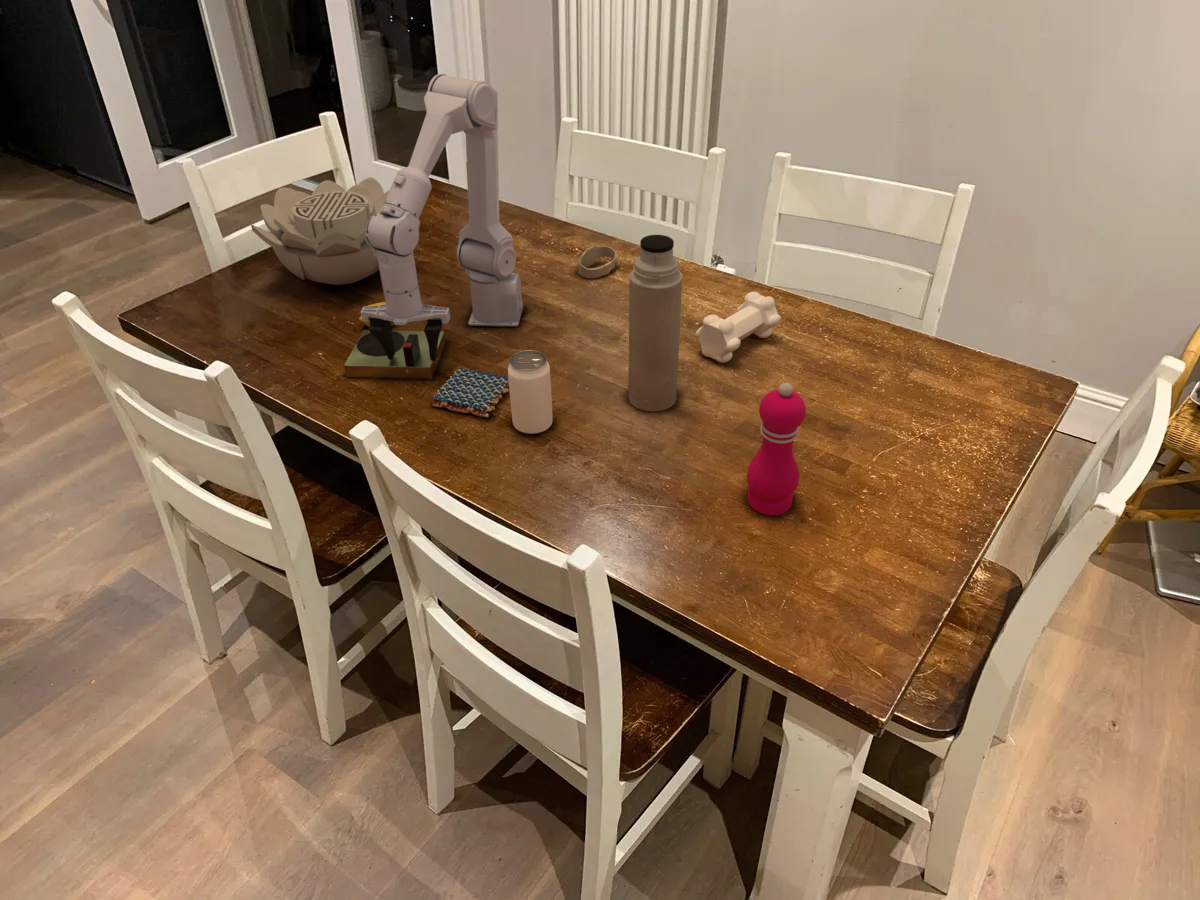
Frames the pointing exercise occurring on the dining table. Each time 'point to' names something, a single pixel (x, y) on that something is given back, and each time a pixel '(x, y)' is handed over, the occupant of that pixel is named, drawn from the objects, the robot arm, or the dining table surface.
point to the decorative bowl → (324, 231)
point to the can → (530, 392)
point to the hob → (395, 361)
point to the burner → (378, 344)
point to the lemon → (374, 305)
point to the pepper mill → (776, 452)
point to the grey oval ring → (590, 258)
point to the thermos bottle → (654, 325)
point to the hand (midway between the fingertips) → (412, 357)
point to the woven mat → (471, 392)
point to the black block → (411, 349)
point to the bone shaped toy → (737, 326)
